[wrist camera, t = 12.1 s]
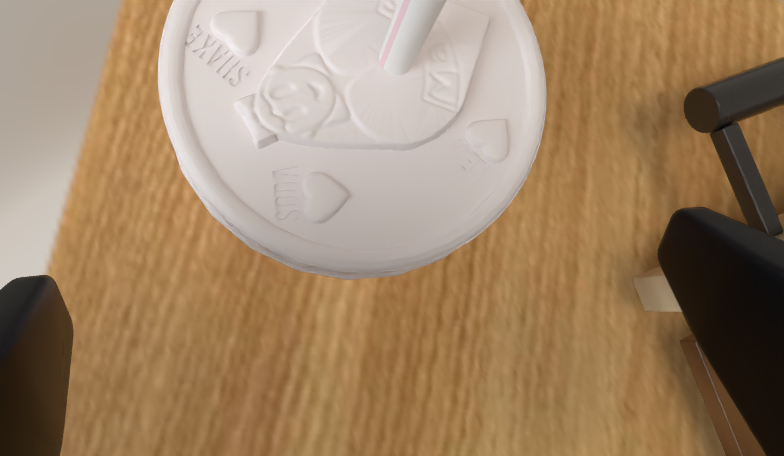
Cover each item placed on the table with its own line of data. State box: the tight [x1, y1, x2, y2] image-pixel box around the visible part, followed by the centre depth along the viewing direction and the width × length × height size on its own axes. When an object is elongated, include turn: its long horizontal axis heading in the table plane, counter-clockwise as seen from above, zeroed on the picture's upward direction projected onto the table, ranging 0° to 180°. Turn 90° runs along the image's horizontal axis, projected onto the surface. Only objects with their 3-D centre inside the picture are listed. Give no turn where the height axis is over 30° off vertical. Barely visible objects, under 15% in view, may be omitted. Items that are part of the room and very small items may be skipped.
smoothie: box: [158, 0, 546, 280], centre depth 12 cm, size 6×6×14 cm
